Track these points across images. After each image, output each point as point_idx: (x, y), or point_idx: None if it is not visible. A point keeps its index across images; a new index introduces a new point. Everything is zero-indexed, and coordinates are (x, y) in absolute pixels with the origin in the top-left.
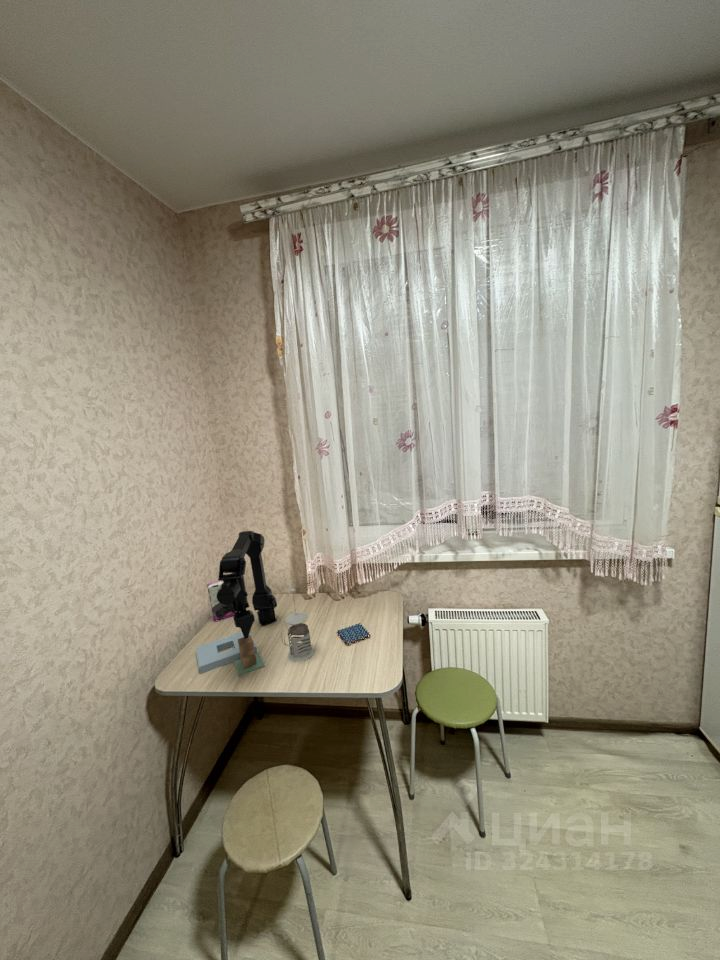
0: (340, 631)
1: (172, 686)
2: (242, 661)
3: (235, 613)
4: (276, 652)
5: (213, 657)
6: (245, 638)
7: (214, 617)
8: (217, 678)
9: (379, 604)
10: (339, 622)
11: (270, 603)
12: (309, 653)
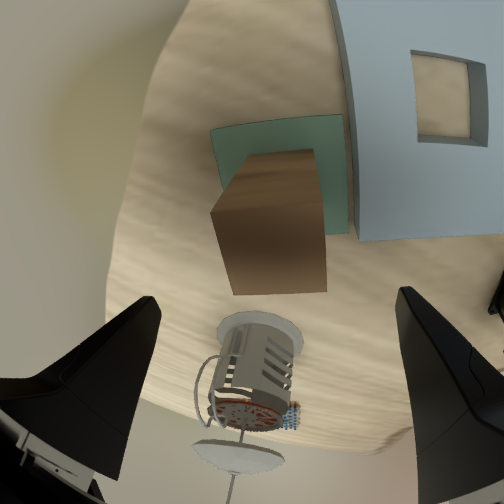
0: (287, 411)
1: None
2: (240, 167)
3: (469, 418)
4: None
5: (386, 20)
6: (144, 300)
7: None
8: (237, 36)
9: (344, 443)
10: (340, 410)
11: None
12: (234, 356)
